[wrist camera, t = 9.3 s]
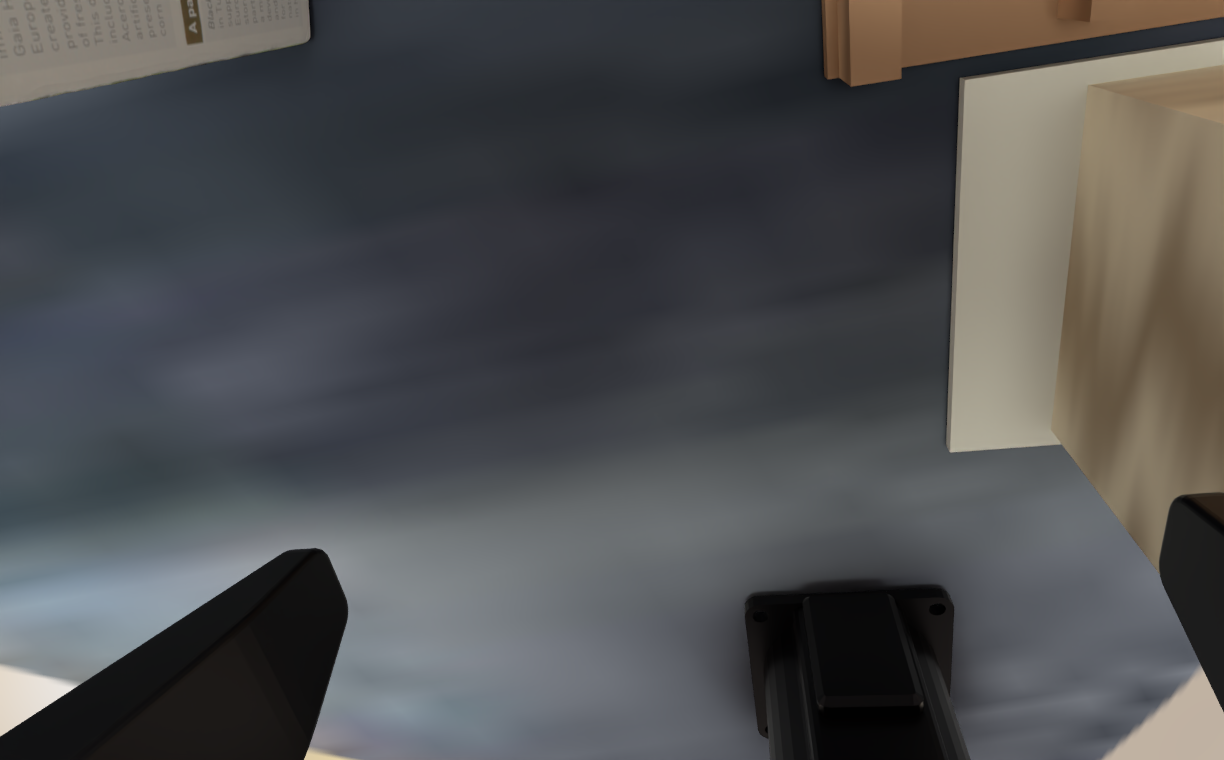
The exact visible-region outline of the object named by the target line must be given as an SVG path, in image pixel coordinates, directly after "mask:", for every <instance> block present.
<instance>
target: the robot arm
mask: <svg viewBox="0 0 1224 760" xmlns="http://www.w3.org/2000/svg"><path fill="white" fill-rule="evenodd" d="M1159 572H1160V577H1161V580H1162V584H1163V586H1164V588H1165V590H1166V593H1167V595H1168V597H1169V599H1170V601H1171V603H1172V605H1173V607H1174V609H1175V611H1176V613H1177V616H1178V618H1179V620H1180V622H1181V624H1182V626H1183V628H1184V630H1185V632H1186V634H1187V637H1188V639H1189V641H1190V643H1191V645H1192V647H1193V649H1194V651H1195V653H1196V655H1197V657H1198V660H1199V662H1200V664H1201V666H1202V668H1203V670H1204V672H1205V674H1206V676H1207V678H1208V680H1209V682H1210V684H1211V687H1212V689H1213V690H1214V693H1215V695H1216V697H1217V699H1218V701H1219V704H1220V706H1221V707H1222V709H1223V712H1224V493H1223V492H1212V493H1196V494H1183V495H1180V496H1178V497H1176V498H1175V499H1174V500H1173V501H1172V503H1171V505H1170V508H1169V511H1168V516H1167V521H1166V526H1165V531H1164V536H1163V541H1162V547H1161V552H1160V557H1159ZM936 603H939V605H938V606H931V605H933V604H936ZM756 611H764V613H756ZM347 619H348V604H347V600H346V597H345V594H344V592H343V590H342V587H341V585H340V583H339V580H338V578H337V575H336V573H335V571H334V568H333V566H332V564H331V561H330V559H329V557H328V555H327V554H326V553H325V552H324V551H323V550H321V549H317V548H312V549H295V550H289V551H286V552H284V553H282V554H281V555H279V556H277V557H276V558H274V559H273V560H271V561H270V562H268V563H267V564H265V565H264V566H262V567H261V568H259V569H257V570H256V571H254V572H253V573H251V574H250V575H248V576H247V577H245V578H244V579H242V580H241V581H239V582H237V583H236V584H234V585H233V586H231V587H230V588H228V589H227V590H225V591H224V592H222V593H221V594H219V595H217V596H216V597H214V598H213V599H211V600H210V601H208V602H207V603H205V604H204V605H202V606H201V607H199V608H197V609H196V610H194V611H193V612H191V613H190V614H188V615H187V616H185V617H184V618H182V619H181V620H179V621H177V622H176V623H174V624H173V625H171V626H170V627H168V628H167V629H165V630H164V631H162V632H161V633H159V634H157V635H156V636H154V637H153V638H151V639H150V640H148V641H147V642H145V643H144V644H142V645H141V646H139V647H137V648H136V649H134V650H133V651H131V652H130V653H128V654H127V655H125V656H124V657H122V658H121V659H119V660H117V661H116V662H114V663H113V664H111V665H110V666H108V667H107V668H105V669H104V670H102V671H101V672H99V673H97V674H96V675H94V676H93V677H91V678H90V679H88V680H87V681H85V682H84V683H82V684H81V685H79V686H77V687H76V688H74V689H73V690H71V691H70V692H68V693H67V694H65V695H64V696H62V697H61V698H59V699H57V700H56V701H54V702H53V703H51V704H50V705H48V706H47V707H45V708H44V709H42V710H41V711H39V712H37V713H36V714H34V715H33V716H31V717H30V718H28V719H27V720H25V721H24V722H22V723H21V724H19V725H17V726H16V727H14V728H13V729H12V730H10V731H8V732H7V733H5V734H4V735H2V736H1V737H0V760H304V758H305V756H306V753H307V750H308V748H309V745H310V742H311V739H312V736H313V733H314V730H315V727H316V724H317V721H318V718H319V714H320V711H321V707H322V704H323V701H324V697H325V694H326V691H327V687H328V684H329V681H330V677H331V674H332V670H333V667H334V664H335V660H336V657H337V654H338V650H339V647H340V644H341V640H342V637H343V633H344V630H345V627H346V623H347ZM745 621H746V630H747V638H748V647H749V656H750V664H751V673H752V681H753V690H754V699H755V707H756V716H757V724H758V731H759V733H760V734H761V735H762V736H763V737H765V738H768V739H769V750H770V760H970V757H969V754H968V751H967V748H966V745H965V742H964V739H963V736H962V733H961V730H960V727H959V724H958V721H957V718H956V715H955V712H954V709H953V706H952V703H951V700H950V685H951V664H952V643H953V622H954V606H953V603H952V600H951V598H950V595H949V594H948V593H947V592H946V591H944V590H942V589H935V588H933V589H910V590H888V591H865V592H843V593H820V594H798V595H776V596H757V597H753V598H751V599H749V600H748V601H747V602H746V603H745Z"/></svg>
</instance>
